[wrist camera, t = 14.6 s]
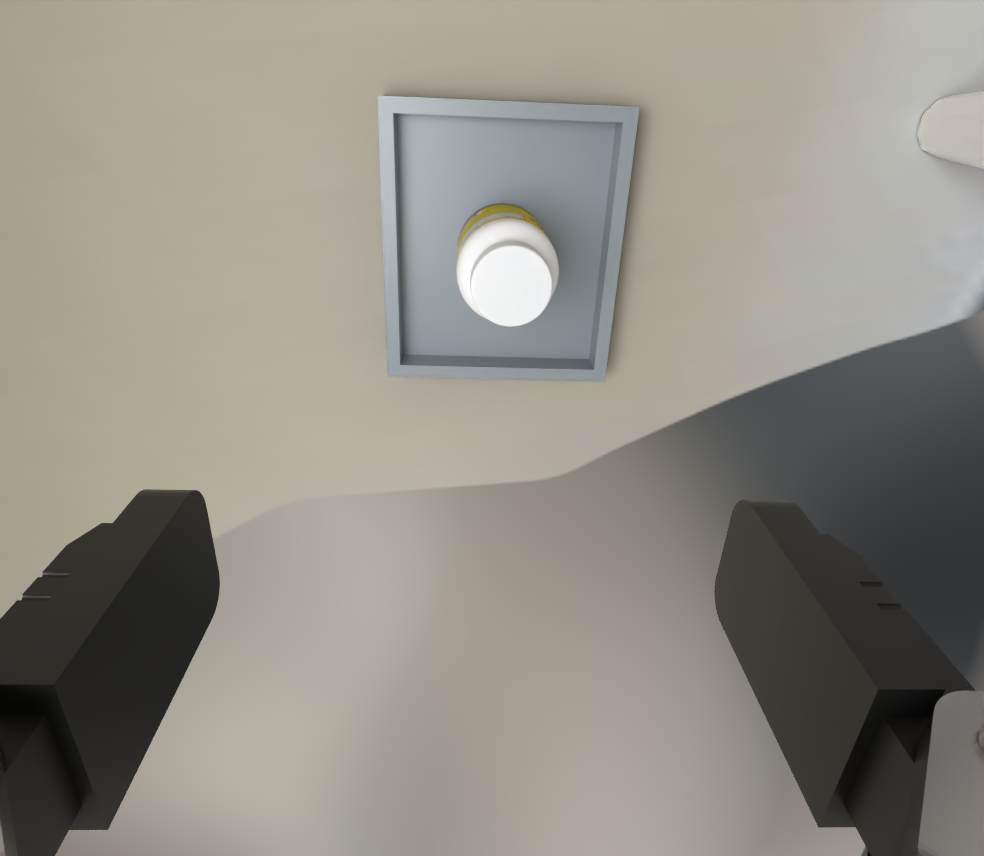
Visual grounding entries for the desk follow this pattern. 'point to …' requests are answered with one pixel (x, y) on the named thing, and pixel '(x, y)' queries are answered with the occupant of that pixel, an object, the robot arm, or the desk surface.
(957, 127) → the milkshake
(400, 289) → the tray
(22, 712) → the robot arm
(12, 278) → the desk surface
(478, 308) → the supplement bottle
